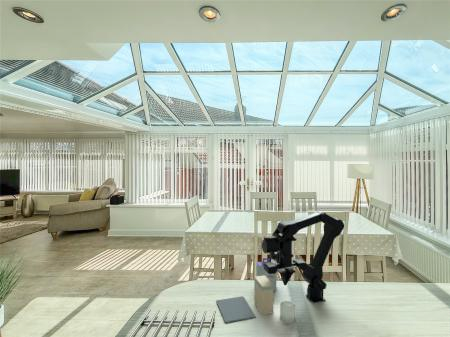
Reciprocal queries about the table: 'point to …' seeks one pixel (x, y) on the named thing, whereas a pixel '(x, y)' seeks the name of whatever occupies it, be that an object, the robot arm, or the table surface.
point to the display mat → (235, 309)
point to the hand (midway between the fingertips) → (285, 284)
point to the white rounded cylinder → (287, 312)
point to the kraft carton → (263, 294)
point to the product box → (261, 272)
